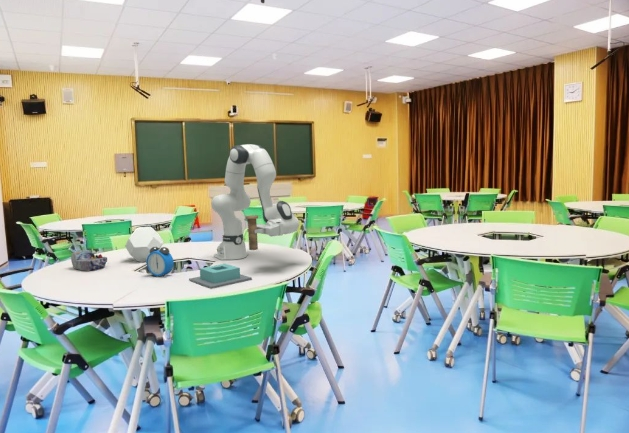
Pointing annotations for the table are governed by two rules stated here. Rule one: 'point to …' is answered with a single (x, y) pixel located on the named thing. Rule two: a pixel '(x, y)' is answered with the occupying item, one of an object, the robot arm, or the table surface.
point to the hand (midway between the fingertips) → (251, 231)
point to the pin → (252, 232)
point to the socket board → (211, 285)
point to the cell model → (87, 260)
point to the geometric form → (143, 242)
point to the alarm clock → (159, 261)
